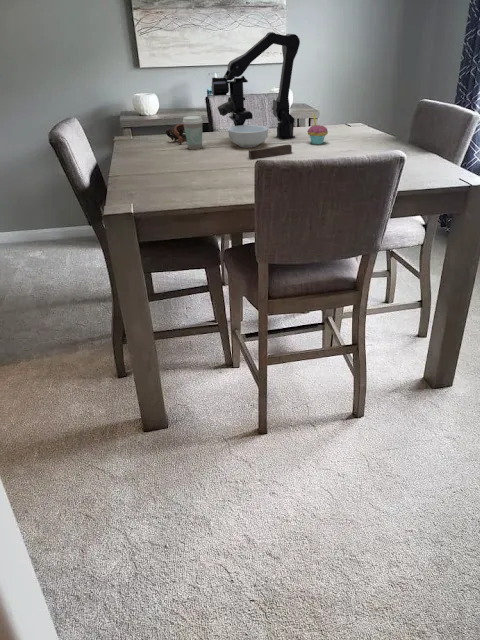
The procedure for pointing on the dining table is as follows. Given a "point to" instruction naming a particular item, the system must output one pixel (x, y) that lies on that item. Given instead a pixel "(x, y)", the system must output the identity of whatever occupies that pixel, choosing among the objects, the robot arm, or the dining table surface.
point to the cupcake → (317, 133)
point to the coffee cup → (193, 131)
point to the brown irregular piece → (177, 133)
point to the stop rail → (270, 151)
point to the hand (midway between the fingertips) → (238, 134)
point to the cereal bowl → (248, 135)
